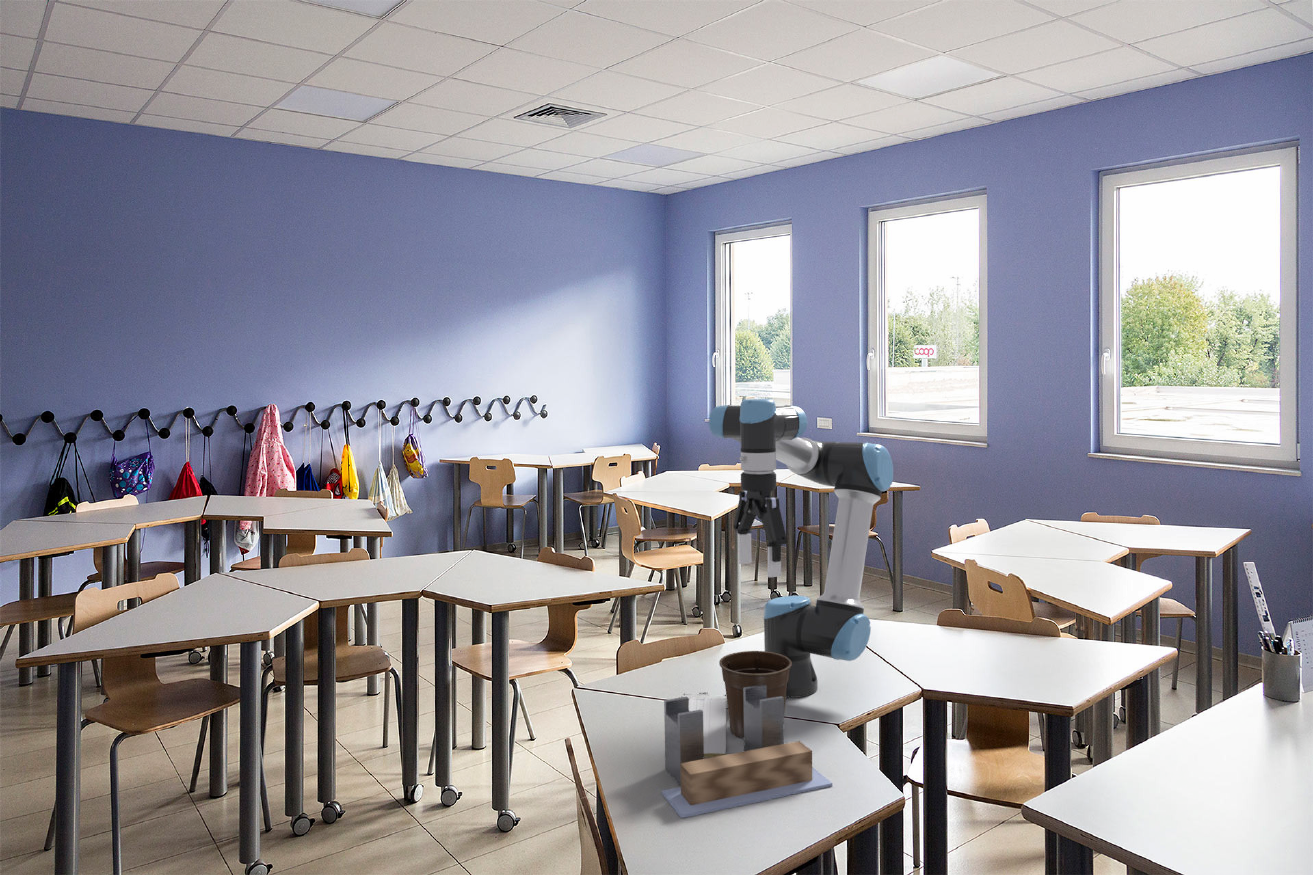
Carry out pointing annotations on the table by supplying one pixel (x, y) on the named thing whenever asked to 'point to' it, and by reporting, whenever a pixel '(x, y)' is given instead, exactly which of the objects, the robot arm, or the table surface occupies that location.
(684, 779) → the oak rail
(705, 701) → the baseboard molding
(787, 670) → the plant pot
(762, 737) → the stand
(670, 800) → the felt pad
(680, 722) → the stand
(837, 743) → the table surface
